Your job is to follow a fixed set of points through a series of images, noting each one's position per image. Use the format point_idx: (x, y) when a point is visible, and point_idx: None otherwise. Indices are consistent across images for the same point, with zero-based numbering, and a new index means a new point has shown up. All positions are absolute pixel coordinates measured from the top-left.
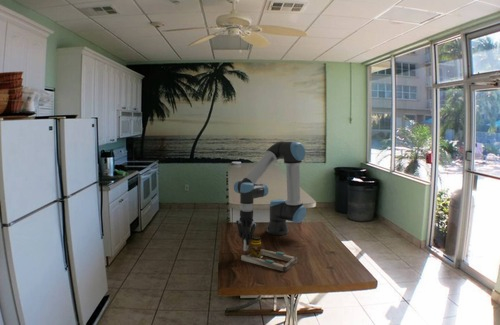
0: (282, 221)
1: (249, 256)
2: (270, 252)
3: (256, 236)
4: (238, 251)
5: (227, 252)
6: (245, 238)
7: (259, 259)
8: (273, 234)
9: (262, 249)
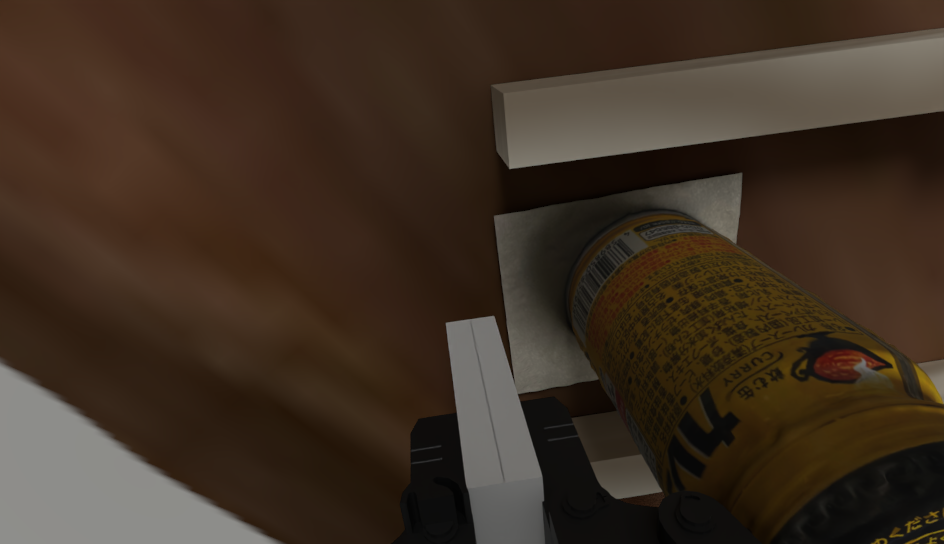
0: None
1: None
2: (904, 109)
3: (920, 542)
4: (264, 279)
5: (174, 416)
6: (474, 527)
7: None
8: None
9: (700, 80)
